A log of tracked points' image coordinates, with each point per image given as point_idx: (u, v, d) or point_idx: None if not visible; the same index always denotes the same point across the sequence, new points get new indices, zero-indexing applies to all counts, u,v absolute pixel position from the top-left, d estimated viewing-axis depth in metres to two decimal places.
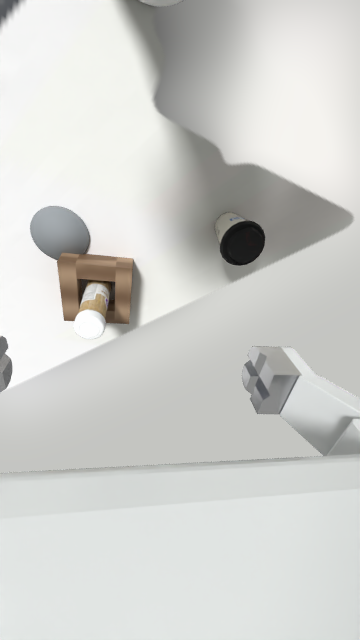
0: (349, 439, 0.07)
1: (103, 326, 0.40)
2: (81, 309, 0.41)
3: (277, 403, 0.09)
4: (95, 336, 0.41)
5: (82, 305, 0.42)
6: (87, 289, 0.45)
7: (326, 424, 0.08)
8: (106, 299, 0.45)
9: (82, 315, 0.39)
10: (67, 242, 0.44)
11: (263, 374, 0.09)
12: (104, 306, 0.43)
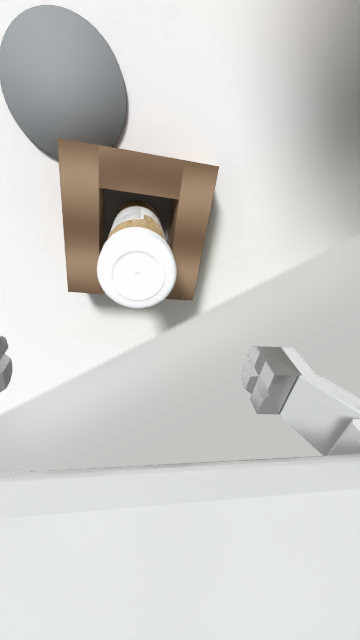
0: (349, 439, 0.07)
1: (175, 270, 0.15)
2: (115, 233, 0.16)
3: (277, 403, 0.09)
4: (151, 299, 0.16)
5: (116, 229, 0.17)
6: (121, 214, 0.21)
7: (326, 424, 0.08)
8: None
9: (122, 234, 0.14)
10: (81, 114, 0.21)
11: (263, 374, 0.09)
12: (164, 238, 0.18)
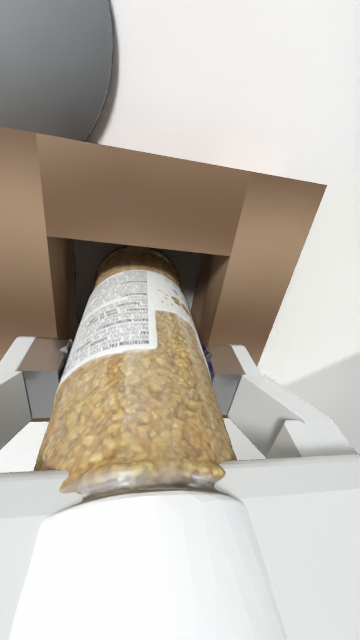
0: (281, 442, 0.06)
1: None
2: (57, 453, 0.04)
3: (223, 403, 0.08)
4: None
5: (70, 400, 0.05)
6: (101, 293, 0.09)
7: (267, 426, 0.07)
8: (199, 341, 0.09)
9: None
10: (8, 65, 0.09)
11: None
12: (214, 394, 0.07)
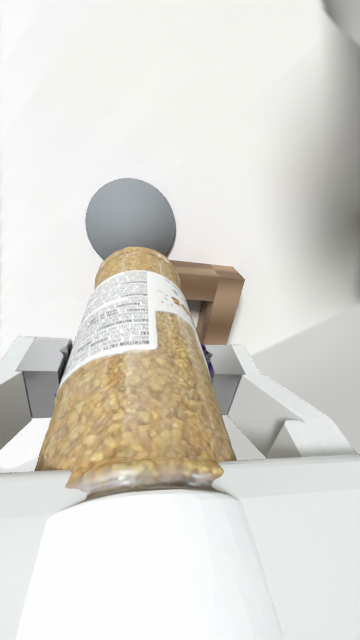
0: (281, 442, 0.06)
1: None
2: (59, 452, 0.04)
3: (223, 403, 0.08)
4: None
5: (71, 400, 0.05)
6: (101, 294, 0.09)
7: (267, 425, 0.07)
8: (199, 341, 0.09)
9: None
10: (141, 240, 0.28)
11: None
12: (214, 393, 0.07)
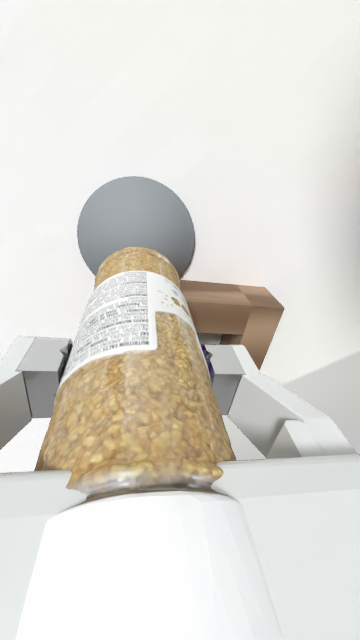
0: (281, 442, 0.06)
1: None
2: (58, 454, 0.04)
3: (223, 403, 0.08)
4: None
5: (70, 401, 0.05)
6: (101, 294, 0.09)
7: (267, 425, 0.07)
8: (199, 342, 0.09)
9: None
10: None
11: None
12: (213, 393, 0.07)
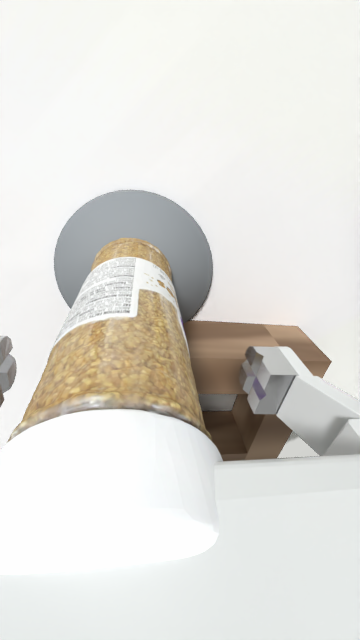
0: (345, 439, 0.07)
1: None
2: (45, 392, 0.05)
3: (274, 403, 0.09)
4: None
5: (59, 356, 0.06)
6: (93, 277, 0.10)
7: (322, 424, 0.08)
8: (181, 319, 0.10)
9: (25, 511, 0.03)
10: None
11: (259, 374, 0.09)
12: (188, 359, 0.07)
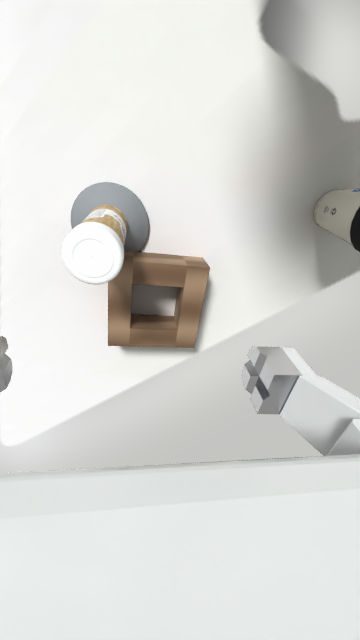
0: (349, 439, 0.07)
1: (121, 253, 0.20)
2: None
3: (277, 403, 0.09)
4: (105, 276, 0.21)
5: None
6: (89, 214, 0.26)
7: (326, 424, 0.08)
8: (122, 228, 0.26)
9: (79, 226, 0.19)
10: None
11: (263, 374, 0.09)
12: (120, 232, 0.23)
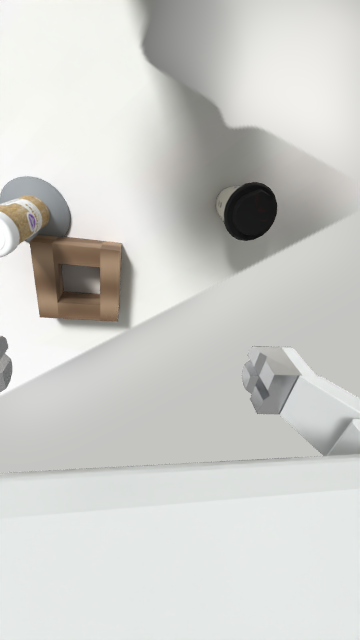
0: (349, 439, 0.07)
1: (10, 233, 0.26)
2: None
3: (277, 403, 0.09)
4: (0, 251, 0.27)
5: None
6: None
7: (326, 424, 0.08)
8: (31, 215, 0.31)
9: None
10: None
11: (262, 374, 0.09)
12: (22, 217, 0.29)
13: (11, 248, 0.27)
